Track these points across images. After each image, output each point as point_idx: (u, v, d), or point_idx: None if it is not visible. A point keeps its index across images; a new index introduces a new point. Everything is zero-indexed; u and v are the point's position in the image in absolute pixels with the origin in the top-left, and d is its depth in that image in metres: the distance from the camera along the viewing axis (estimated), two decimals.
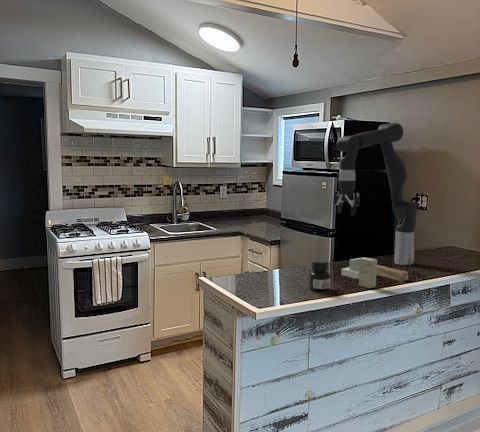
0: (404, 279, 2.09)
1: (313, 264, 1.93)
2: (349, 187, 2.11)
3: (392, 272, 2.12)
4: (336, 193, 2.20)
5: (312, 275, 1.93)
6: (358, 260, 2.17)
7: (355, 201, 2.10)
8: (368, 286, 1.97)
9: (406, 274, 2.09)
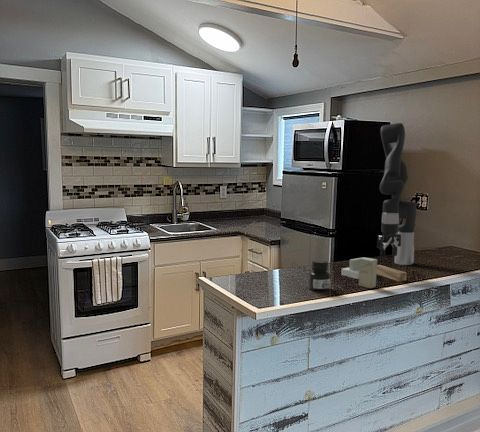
0: (402, 279, 2.09)
1: (313, 264, 1.93)
2: None
3: (391, 272, 2.12)
4: None
5: (312, 275, 1.93)
6: (358, 260, 2.17)
7: (400, 242, 2.18)
8: (368, 286, 1.97)
9: (404, 274, 2.09)
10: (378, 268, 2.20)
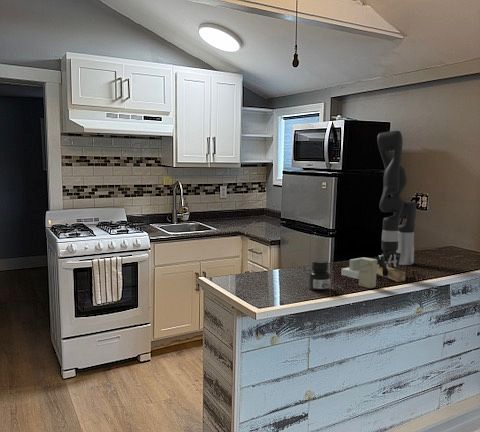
0: (400, 279, 2.08)
1: (313, 264, 1.93)
2: None
3: (390, 272, 2.12)
4: None
5: (312, 275, 1.93)
6: (358, 260, 2.17)
7: (398, 261, 2.18)
8: (368, 286, 1.97)
9: (402, 274, 2.08)
10: (378, 267, 2.20)
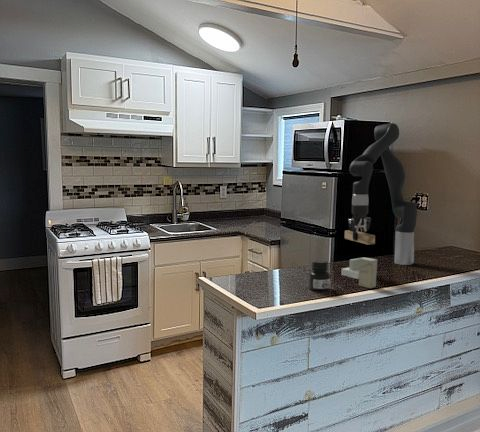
0: (370, 242, 2.09)
1: (313, 264, 1.93)
2: None
3: (360, 235, 2.13)
4: None
5: (312, 275, 1.93)
6: (358, 260, 2.17)
7: (368, 225, 2.19)
8: (368, 286, 1.97)
9: (372, 237, 2.09)
10: (349, 232, 2.21)
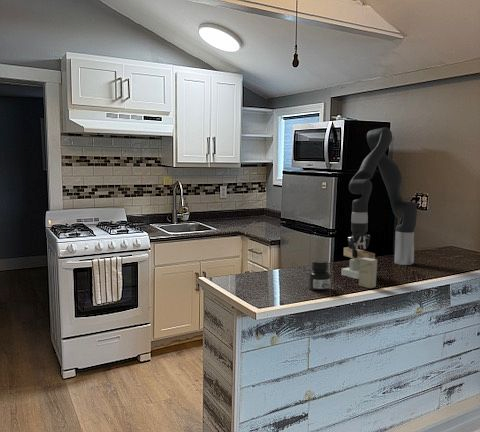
0: None
1: (313, 264, 1.93)
2: None
3: (360, 253, 2.14)
4: None
5: (312, 275, 1.93)
6: (358, 260, 2.17)
7: (368, 243, 2.20)
8: (368, 286, 1.97)
9: (372, 255, 2.10)
10: (348, 250, 2.22)
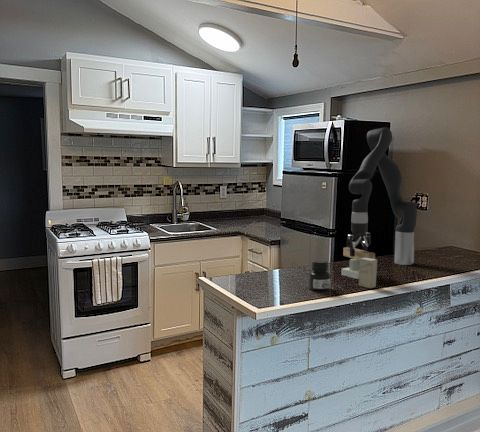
0: None
1: (313, 264, 1.93)
2: None
3: (360, 253, 2.14)
4: None
5: (312, 275, 1.93)
6: (358, 260, 2.17)
7: (370, 240, 2.20)
8: (368, 286, 1.97)
9: (372, 255, 2.10)
10: (348, 250, 2.22)
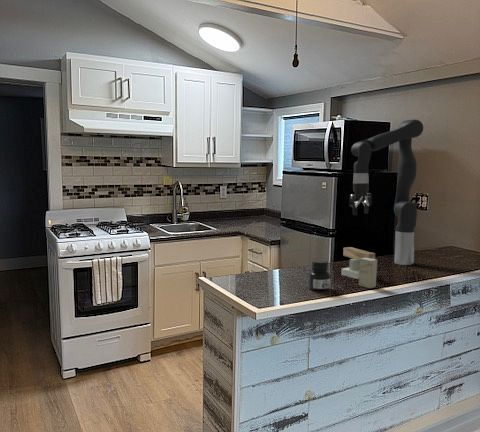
0: None
1: (313, 264, 1.93)
2: None
3: (360, 253, 2.14)
4: None
5: (312, 275, 1.93)
6: (358, 260, 2.17)
7: (370, 200, 2.35)
8: (368, 286, 1.97)
9: (372, 255, 2.10)
10: (348, 250, 2.22)
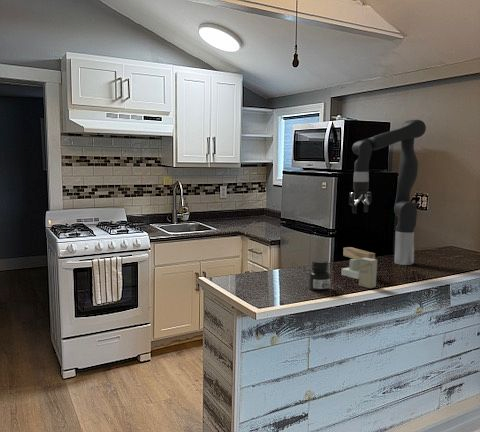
0: None
1: (313, 264, 1.93)
2: None
3: (360, 253, 2.14)
4: None
5: (312, 275, 1.93)
6: (358, 260, 2.17)
7: (370, 199, 2.36)
8: (368, 286, 1.97)
9: (372, 255, 2.10)
10: (348, 250, 2.22)
